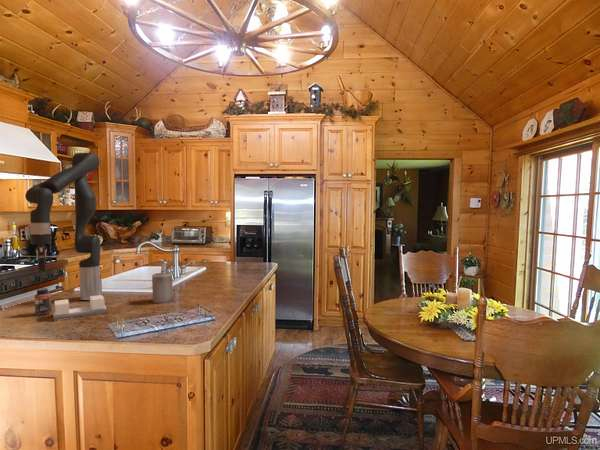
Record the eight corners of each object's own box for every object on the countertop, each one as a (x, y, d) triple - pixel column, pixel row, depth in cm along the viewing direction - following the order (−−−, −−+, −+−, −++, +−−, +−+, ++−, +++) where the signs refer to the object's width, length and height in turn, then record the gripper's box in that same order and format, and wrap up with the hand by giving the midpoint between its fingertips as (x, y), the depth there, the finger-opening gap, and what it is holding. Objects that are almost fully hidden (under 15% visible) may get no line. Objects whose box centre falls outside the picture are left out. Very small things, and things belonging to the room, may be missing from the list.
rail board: (103, 307, 171) (103, 294, 170) (107, 313, 162) (106, 299, 161) (52, 314, 159) (52, 300, 159) (53, 321, 150) (53, 306, 150)
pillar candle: (164, 297, 190) (163, 269, 189) (177, 299, 185) (176, 271, 184) (148, 301, 182) (147, 272, 181) (161, 304, 177) (160, 274, 176)
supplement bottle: (49, 310, 165) (48, 286, 164) (53, 313, 161) (52, 288, 160) (33, 314, 160) (32, 289, 159) (37, 316, 156) (36, 291, 156)
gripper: (30, 232, 162) (31, 267, 163) (29, 234, 150) (31, 272, 151) (50, 231, 166) (51, 266, 167) (51, 233, 155) (52, 270, 156)
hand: (42, 269), depth 159 cm, fingers open, 8 cm apart
